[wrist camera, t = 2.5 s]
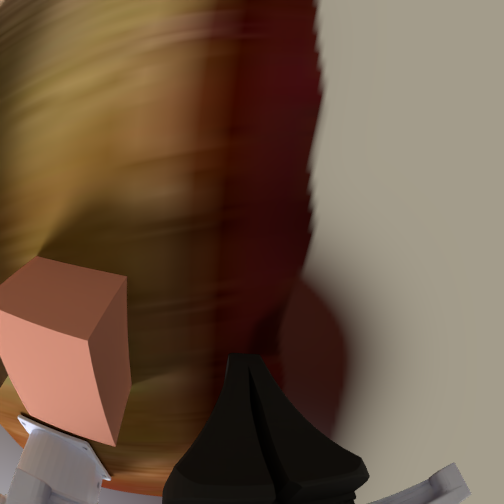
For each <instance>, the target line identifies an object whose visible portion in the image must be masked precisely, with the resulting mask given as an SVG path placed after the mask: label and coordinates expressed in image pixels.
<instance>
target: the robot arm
mask: <svg viewBox="0 0 504 504" xmlns="http://www.w3.org/2000/svg"><path fill="white" fill-rule="evenodd" d="M18 419H19V421H20V422H21V423H22V425H23V426H24V428H25V429H26V430H27V432H28V433H29V434H30V436H29V438H28V440H27V443H26V445H25V448H24V450H23V453H22V455H21V458H20V461H19V464H18V466H17V468H16V471H15V473H14V476H13V480H12V482H11V486H10V489H9V492H8V495H7V494H5V496H3V495H2V494H0V504H98V500H99V494H100V488H101V484H102V479H105V480H111V477H110V475H109V474H108V472H107V471H106V469H105V468H104V466H103V465H102V464H101V462H100V460H99V459H98V457H97V456H96V454H95V453H94V451H93V449H92V448H91V446H90V444H89V443H88V442H86V441H84V440H81V439H78V438H75V437H72V436H70V435H67V434H64V433H61V432H59V431H56V430H54V429H51V428H49V427H46V426H44V425H42V424H39V423H37V422H35V421H33V420H31V419H28V418H26V417H24V416H22V415H18ZM368 478H369V473H368V471H367V468H366V466H365V464H364V462H363V460H362V458H361V457H359V456H357V455H355V454H353V453H351V452H350V451H348V450H346V449H344V448H342V447H341V446H339V445H338V444H336V443H335V442H333V441H332V440H330V439H329V438H328V437H326V436H325V435H324V434H322V433H321V432H320V431H319V430H318V429H316V428H315V427H314V426H313V425H312V424H311V423H310V422H308V421H307V420H306V419H305V418H304V417H303V416H302V414H301V413H300V412H299V411H298V410H297V409H296V408H295V407H294V406H293V405H292V403H291V402H290V401H289V400H288V398H287V397H286V396H285V394H284V393H283V392H282V390H281V389H280V387H279V386H278V384H277V383H276V382H275V380H274V378H273V377H272V375H271V374H270V372H269V370H268V369H267V367H266V365H265V363H264V361H263V360H262V358H261V356H260V355H259V354H242V353H230V354H229V355H228V361H227V367H226V374H225V380H224V385H223V388H222V391H221V393H220V396H219V398H218V400H217V403H216V405H215V407H214V409H213V411H212V413H211V415H210V417H209V419H208V421H207V422H206V424H205V426H204V428H203V429H202V431H201V432H200V434H199V435H198V437H197V438H196V440H195V441H194V443H193V444H192V445H191V447H190V448H189V449H188V451H187V452H186V453H185V454H184V456H183V457H182V458H181V459H180V460H179V461H178V463H177V464H176V465H175V466H174V468H173V470H172V472H171V474H170V476H169V478H168V479H167V481H166V483H165V486H164V489H163V497H162V504H355V503H354V499H356V495H355V492H354V491H355V490H357V489H358V488H359V487H361V486H362V485H363V484H364V483H365V482H366V481H367V480H368ZM470 495H471V492H470V490H469V488H468V486H467V484H466V483H465V481H464V479H463V477H462V475H461V473H460V472H459V470H458V468H457V466H456V465H455V463H452V464H450V465H448V466H446V467H444V468H442V469H441V470H439V471H437V472H436V473H435V474H433V475H432V476H431V477H429V479H427V480H425V481H423V482H421V483H419V484H417V485H415V486H412V487H410V488H408V489H406V490H403V491H401V492H399V493H396V494H393V495H391V496H388V497H385V498H383V499H380V500H377V501H374V502H371V503H368V504H459V503H461V502H462V501H463V500H465V499H466V498H468V497H469V496H470Z"/></svg>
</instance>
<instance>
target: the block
mask: <svg viewBox="0 0 504 504" xmlns="http://www.w3.org/2000/svg"><path fill="white" fill-rule="evenodd" d="M0 357H1V359H2V362H3V364H4V366H5V368H6V371H7V373H8V375H9V377H10V379H11V381H12V383H13V385H14V387H15V389H16V391H17V393H18V395H19V397H20V399H21V400H22V402H23V404H24V406H25V408H26V409H27V411H28V413H29V414H30V415H31V416H33V417H35V418H37V419H40V420H42V421H44V422H46V423H49V424H51V425H53V426H56V427H58V428H61V429H63V430H66V431H68V432H71V433H74V434H76V435H79V436H82V437H85V438H88V439H91V440H94V441H97V442H101V443H104V444H107V445H111V446H115V447H116V443H117V439H118V435H119V430H120V426H121V423H122V419H123V415H124V411H125V407H126V404H127V400H128V396H129V393H130V389H131V386H132V382H131V372H130V361H129V347H128V327H127V276H123V275H118V274H113V273H108V272H104V271H99V270H94V269H90V268H85V267H81V266H76V265H72V264H67V263H63V262H59V261H55V260H51V259H46V258H42V257H38V256H36V257H35V258H33V259H32V260H31V261H29V262H28V263H27V264H25V265H24V266H23V267H21V268H20V269H19V270H18V271H16V272H15V273H14V274H13V275H11V276H10V277H9V278H8V279H7V280H5V281H4V282H3V283H2V284H1V285H0Z"/></svg>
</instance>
